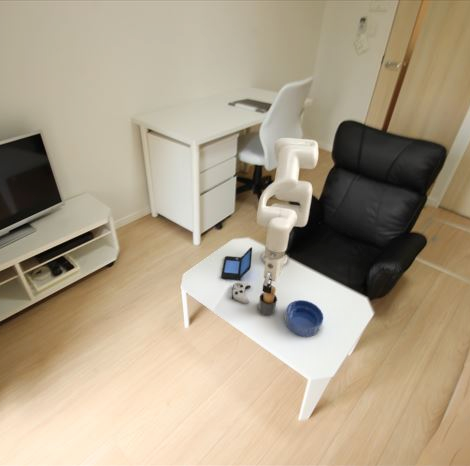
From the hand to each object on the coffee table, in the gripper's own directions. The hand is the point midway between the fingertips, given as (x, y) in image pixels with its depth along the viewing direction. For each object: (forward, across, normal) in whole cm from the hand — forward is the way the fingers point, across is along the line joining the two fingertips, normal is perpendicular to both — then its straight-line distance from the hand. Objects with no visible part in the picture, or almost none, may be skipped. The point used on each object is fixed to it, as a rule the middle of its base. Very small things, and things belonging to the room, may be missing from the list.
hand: (270, 284), depth 123 cm
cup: (+16, +1, 0) cm, 16 cm away
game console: (+15, +18, +21) cm, 31 cm away
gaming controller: (+16, +4, +13) cm, 21 cm away
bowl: (+16, +1, -15) cm, 22 cm away
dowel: (+15, +1, 0) cm, 15 cm away
